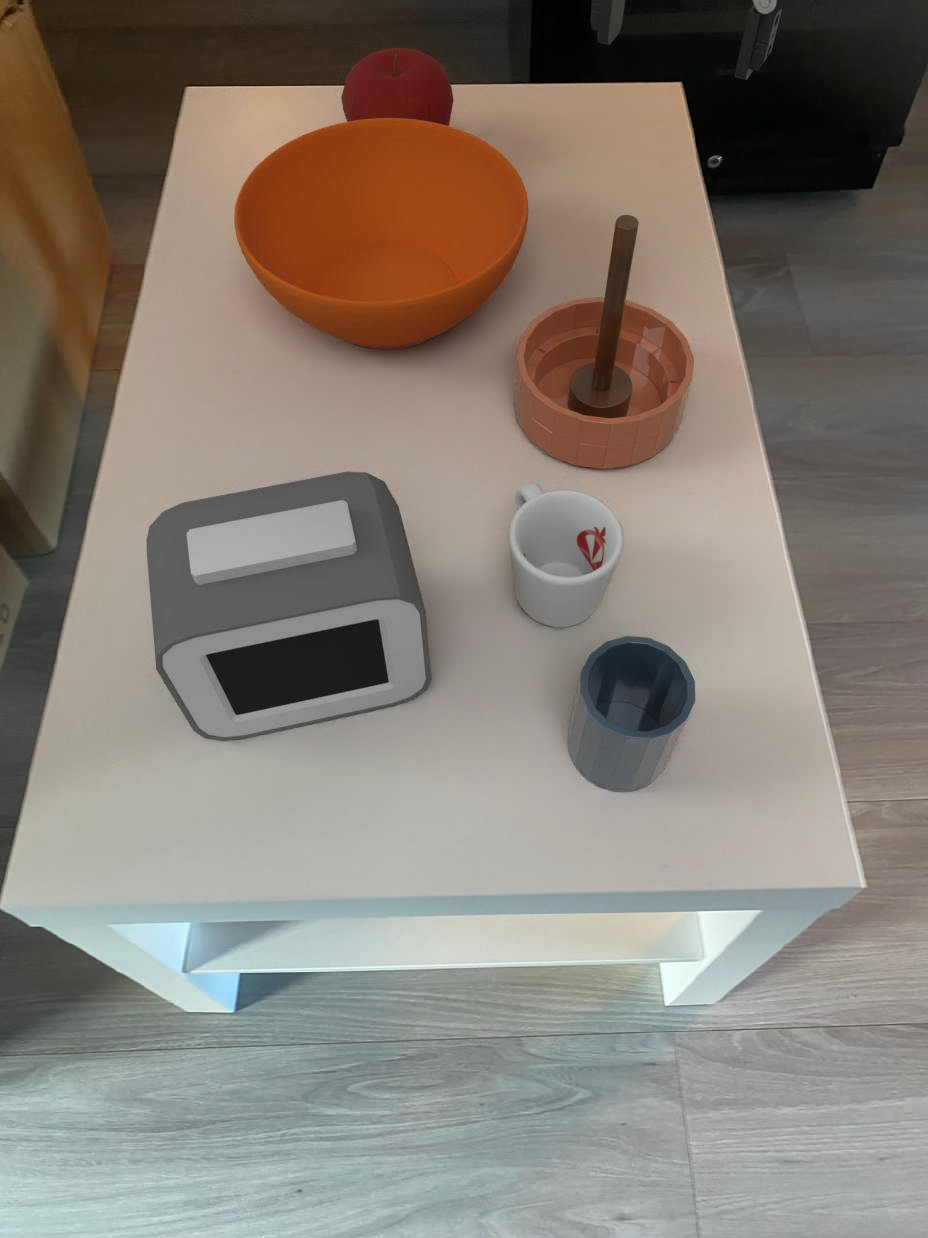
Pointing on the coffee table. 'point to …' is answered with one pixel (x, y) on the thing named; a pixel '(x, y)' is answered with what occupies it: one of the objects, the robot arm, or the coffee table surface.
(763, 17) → the robot arm
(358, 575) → the alarm clock
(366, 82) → the apple
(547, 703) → the coffee table surface
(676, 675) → the utensil crock
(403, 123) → the bowl
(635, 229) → the wooden plunger
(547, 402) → the mixing bowl
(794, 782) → the coffee table surface
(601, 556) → the cup
